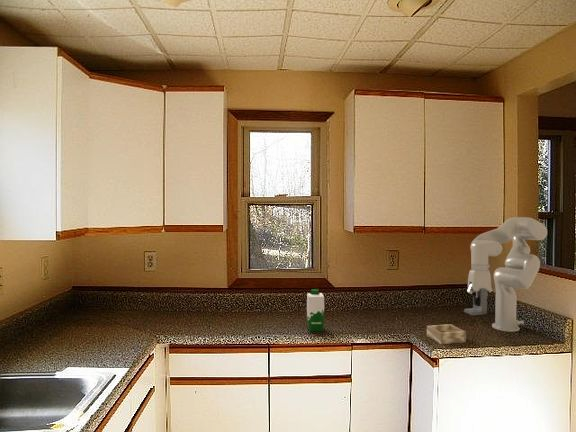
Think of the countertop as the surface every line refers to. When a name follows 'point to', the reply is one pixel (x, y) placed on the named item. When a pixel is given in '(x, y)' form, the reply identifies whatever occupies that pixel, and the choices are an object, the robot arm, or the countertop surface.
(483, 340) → the countertop surface
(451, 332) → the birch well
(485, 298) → the steel L-bracket
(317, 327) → the milk carton
